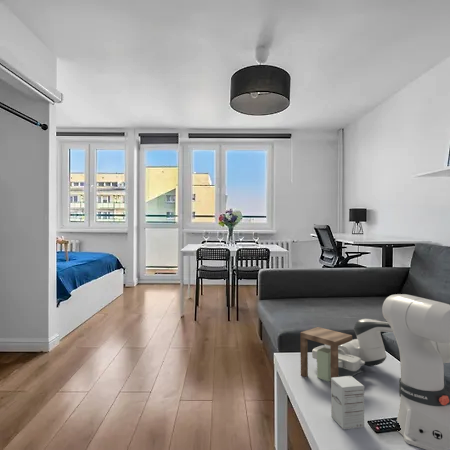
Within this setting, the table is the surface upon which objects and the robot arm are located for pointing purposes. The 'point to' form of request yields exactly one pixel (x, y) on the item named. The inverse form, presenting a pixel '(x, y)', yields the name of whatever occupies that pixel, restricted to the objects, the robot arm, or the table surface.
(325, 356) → the sage block
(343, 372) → the slate mat
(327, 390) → the table surface
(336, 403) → the supplement box
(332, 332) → the shelf stand
